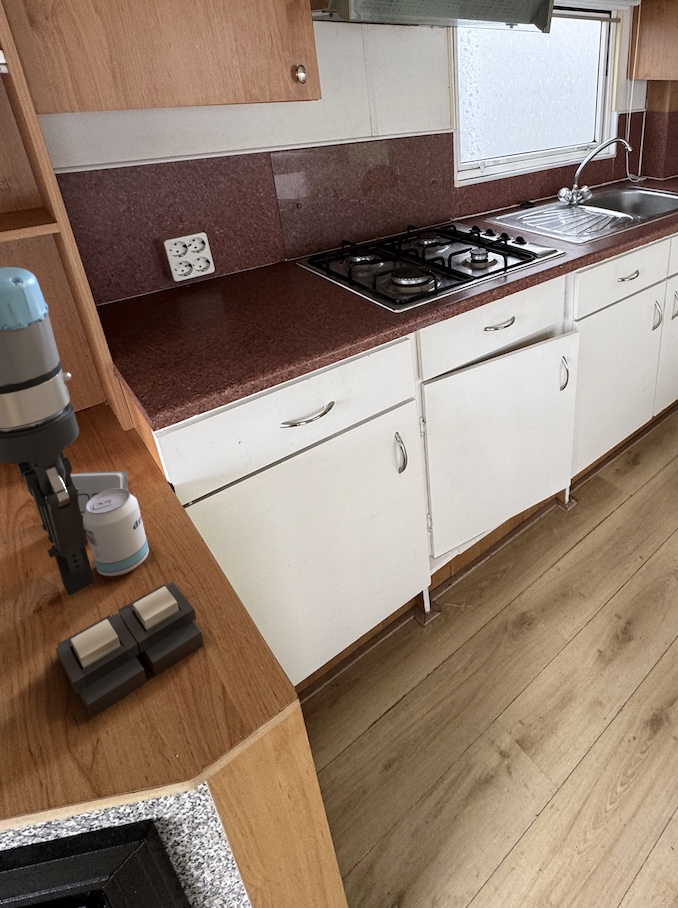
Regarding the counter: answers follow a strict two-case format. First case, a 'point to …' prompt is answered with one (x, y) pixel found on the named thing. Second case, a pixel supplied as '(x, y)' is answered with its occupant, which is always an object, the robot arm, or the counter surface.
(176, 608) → the e key
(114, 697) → the near key block
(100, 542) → the beverage can
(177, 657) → the far key block
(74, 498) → the robot arm
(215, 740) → the counter surface
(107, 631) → the c key
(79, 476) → the electrical switch
